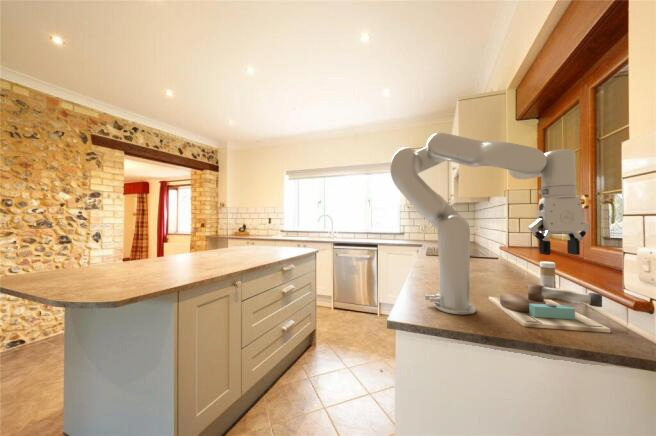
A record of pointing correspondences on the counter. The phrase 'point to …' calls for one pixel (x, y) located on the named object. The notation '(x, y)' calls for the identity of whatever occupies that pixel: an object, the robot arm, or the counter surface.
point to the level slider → (552, 311)
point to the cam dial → (539, 291)
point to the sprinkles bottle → (548, 275)
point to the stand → (552, 319)
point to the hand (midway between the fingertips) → (559, 253)
